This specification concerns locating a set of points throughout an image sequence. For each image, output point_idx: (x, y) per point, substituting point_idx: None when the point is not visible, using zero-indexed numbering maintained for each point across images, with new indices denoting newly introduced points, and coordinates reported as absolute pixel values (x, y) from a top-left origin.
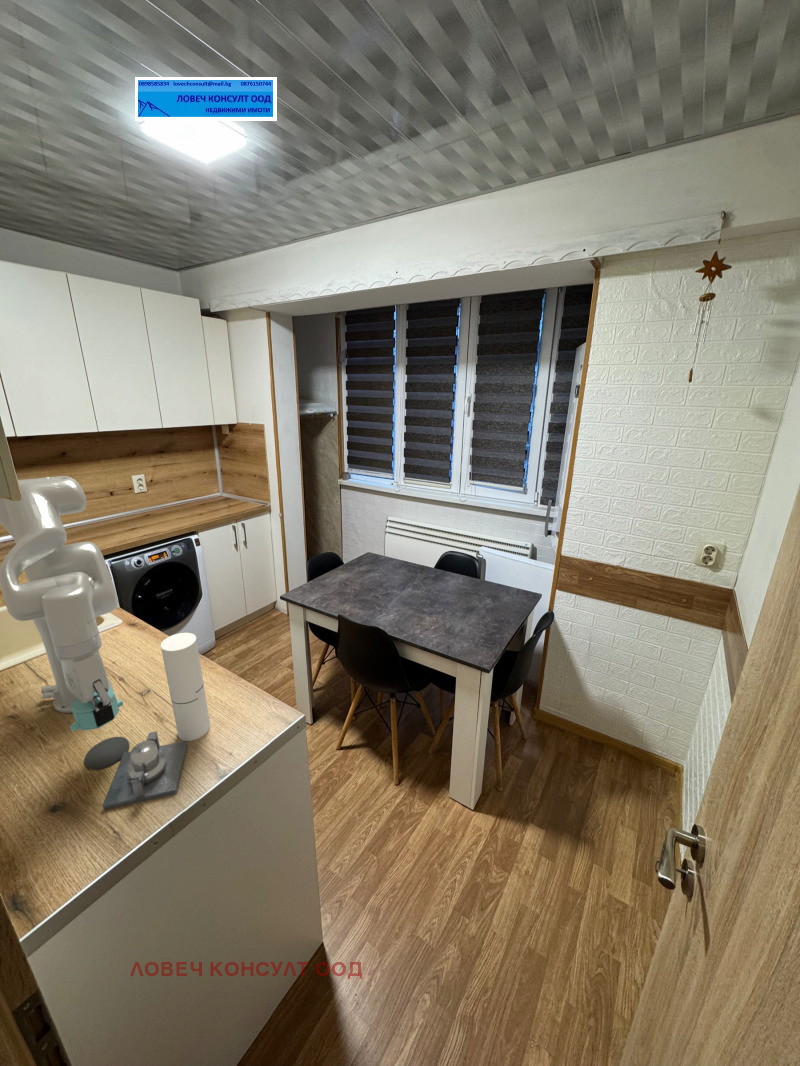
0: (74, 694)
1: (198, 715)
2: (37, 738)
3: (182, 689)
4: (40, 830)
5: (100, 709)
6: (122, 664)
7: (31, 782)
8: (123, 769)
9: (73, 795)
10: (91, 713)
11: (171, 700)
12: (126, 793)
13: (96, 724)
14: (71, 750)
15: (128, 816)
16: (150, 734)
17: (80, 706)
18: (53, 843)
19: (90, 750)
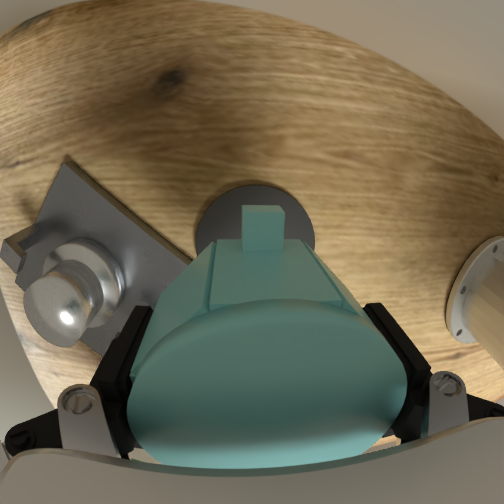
0: (298, 498)
1: None
2: (465, 165)
3: None
4: (135, 44)
5: (56, 410)
6: (480, 365)
7: (329, 75)
8: (133, 243)
9: (174, 122)
10: (138, 360)
11: (134, 458)
12: (56, 215)
13: (141, 310)
14: (361, 188)
15: (27, 193)
16: None
17: (242, 370)
18: (79, 62)
19: (304, 218)
